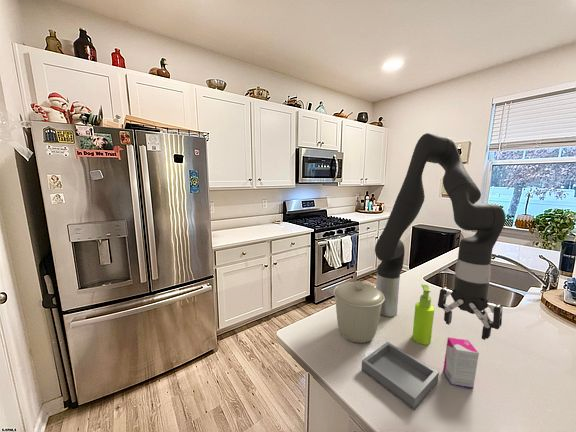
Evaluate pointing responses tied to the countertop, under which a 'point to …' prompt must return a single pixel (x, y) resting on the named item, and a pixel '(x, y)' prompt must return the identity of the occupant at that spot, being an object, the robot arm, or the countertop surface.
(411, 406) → the tray
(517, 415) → the countertop surface
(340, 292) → the canister
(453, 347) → the supplement box
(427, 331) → the soap dispenser
